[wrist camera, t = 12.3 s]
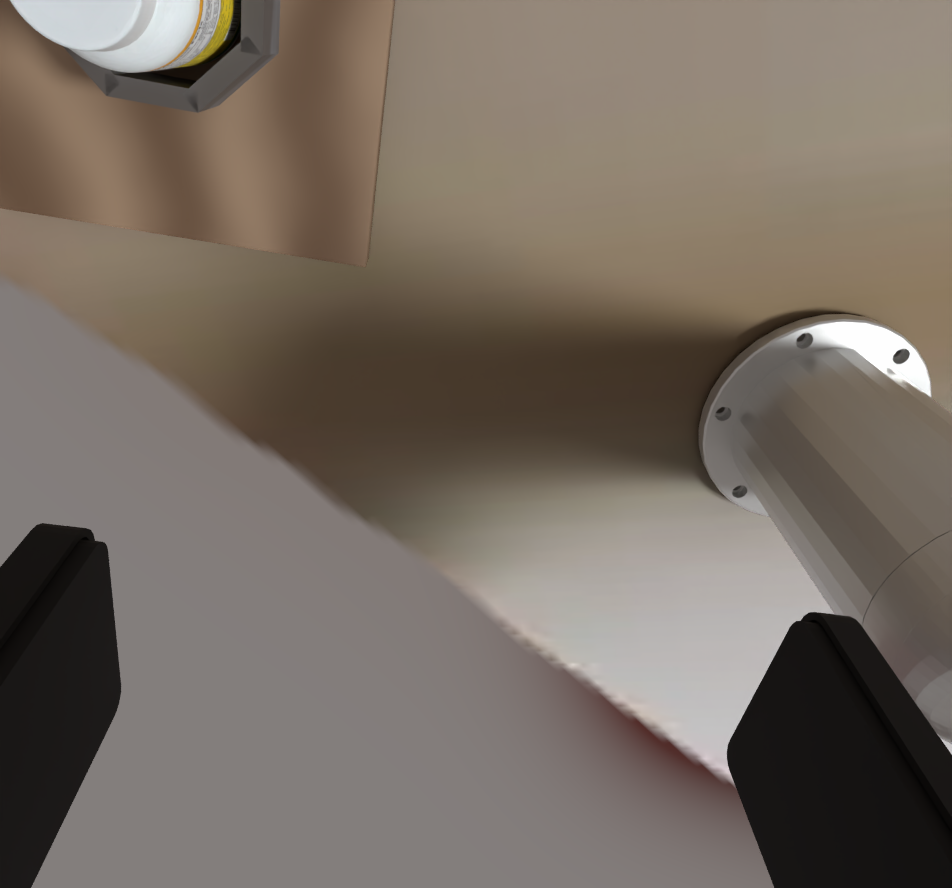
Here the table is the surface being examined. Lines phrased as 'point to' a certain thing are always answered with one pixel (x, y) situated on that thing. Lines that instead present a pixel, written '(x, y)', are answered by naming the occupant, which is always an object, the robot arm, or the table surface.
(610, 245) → the table surface
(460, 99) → the table surface
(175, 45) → the supplement bottle
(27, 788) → the robot arm
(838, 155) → the table surface
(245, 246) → the holder
